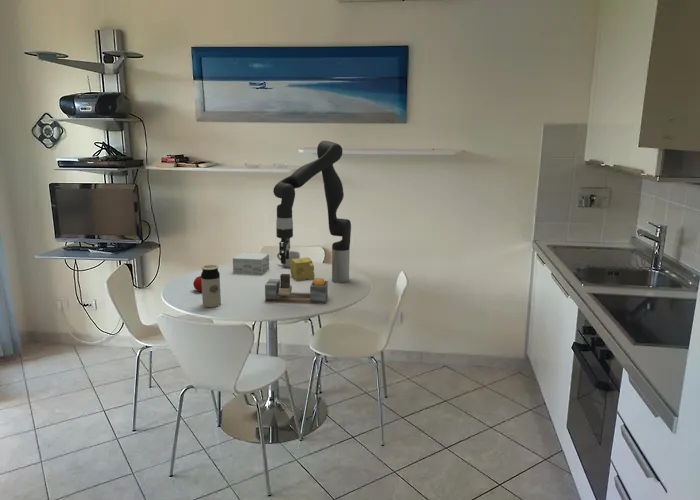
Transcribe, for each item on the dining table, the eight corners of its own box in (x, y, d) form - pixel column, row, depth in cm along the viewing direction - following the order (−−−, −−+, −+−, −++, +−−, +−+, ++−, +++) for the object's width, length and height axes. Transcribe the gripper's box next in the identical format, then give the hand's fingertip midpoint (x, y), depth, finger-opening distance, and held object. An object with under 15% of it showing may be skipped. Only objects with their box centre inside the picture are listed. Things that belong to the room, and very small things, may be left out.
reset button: (314, 286, 245) (314, 277, 244) (324, 286, 244) (325, 278, 244) (313, 289, 240) (313, 281, 239) (323, 290, 240) (323, 281, 239)
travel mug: (202, 303, 237) (200, 265, 233) (219, 301, 240) (218, 263, 235) (203, 308, 230) (201, 269, 225) (221, 306, 232) (220, 268, 228)
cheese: (314, 279, 277) (314, 261, 274) (295, 281, 273) (295, 263, 270) (308, 274, 286) (308, 256, 284) (290, 276, 282) (289, 258, 280)
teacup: (303, 265, 303) (303, 252, 301) (292, 269, 294) (291, 256, 292) (285, 262, 310) (284, 249, 308) (273, 266, 301) (272, 252, 299)
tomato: (216, 289, 256) (215, 274, 254) (202, 294, 249) (201, 278, 247) (203, 286, 261) (202, 271, 259) (189, 291, 253) (188, 275, 251)
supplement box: (269, 269, 295) (269, 253, 293) (262, 275, 282) (262, 259, 280) (241, 267, 297) (240, 252, 295) (232, 274, 285) (232, 257, 282)
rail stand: (269, 294, 250) (269, 279, 248) (327, 296, 248) (327, 280, 246) (265, 301, 240) (264, 285, 238) (325, 303, 238) (325, 287, 237)
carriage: (281, 289, 247) (281, 272, 245) (291, 290, 247) (291, 272, 245) (278, 294, 240) (278, 276, 238) (289, 294, 240) (289, 277, 238)
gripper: (279, 224, 244) (280, 257, 247) (273, 229, 230) (273, 264, 233) (295, 224, 243) (295, 257, 247) (290, 230, 229) (290, 265, 233)
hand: (285, 261), depth 240 cm, fingers open, 8 cm apart
